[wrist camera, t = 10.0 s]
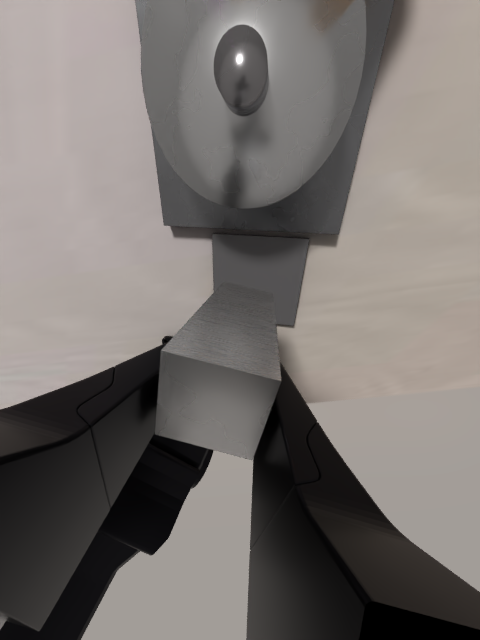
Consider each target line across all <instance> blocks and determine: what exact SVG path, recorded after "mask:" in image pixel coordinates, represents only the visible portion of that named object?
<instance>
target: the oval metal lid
mask: <svg viewBox="0 0 480 640" xmlns="http://www.w3.org/2000/svg"><path fill="white" fill-rule="evenodd" d="M365 48H366V7H365V0H148V1H147V5H146V9H145V16H144V22H143V28H142V41H141V74H142V84H143V92H144V98H145V103H146V108H147V112H148V115H149V119H150V123H151V126H152V129H153V131H154V134H155V136H156V139H157V141H158V143H159V145H160V147H161V149H162V151H163V153H164V155H165V157H166V158H167V160H168V162H169V163H170V165H171V166H172V168H173V169H174V170H175V172H176V173H177V174H178V175H179V177H180V178H181V179H182V180H183V181H184V182H185V183H186V184H187V185H188V186H189V187H190V188H192V189H193V190H194V191H196V192H197V193H198V194H199V195H201V196H203V197H205V198H206V199H208V200H210V201H212V202H215V203H217V204H220V205H223V206H227V207H231V208H242V209H246V208H260V207H265V206H269V205H272V204H274V203H277V202H279V201H281V200H283V199H285V198H287V197H288V196H290V195H291V194H293V193H294V192H296V191H297V190H298V189H299V188H300V187H301V186H302V185H304V184H305V183H306V182H307V181H308V180H309V179H310V178H311V177H312V176H313V175H314V174H315V173H316V172H317V171H318V169H319V168H320V167H321V166H322V165H323V163H324V162H325V161H326V159H327V158H328V157H329V155H330V154H331V152H332V151H333V149H334V147H335V146H336V144H337V142H338V140H339V139H340V137H341V135H342V133H343V131H344V129H345V126H346V124H347V122H348V120H349V118H350V115H351V112H352V109H353V106H354V103H355V101H356V98H357V94H358V90H359V86H360V82H361V78H362V71H363V65H364V58H365Z"/></svg>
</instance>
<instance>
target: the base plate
mask: <svg viewBox="0 0 480 640" xmlns="http://www.w3.org/2000/svg"><path fill="white" fill-rule="evenodd" d="M147 1H148V0H135V3H136V11H137V19H138V26H139V34H140V42H141V41H142V28H143V22H144V16H145V9H146V5H147ZM393 4H394V0H365V7H366V48H365V58H364V65H363V71H362V78H361V82H360V86H359V90H358V94H357V98H356V101H355V103H354V106H353V109H352V112H351V115H350V118H349V120H348V122H347V124H346V126H345V129H344V131H343V133H342V135H341V137H340V139H339V140H338V142H337V144H336V146H335V147H334V149H333V151H332V152H331V154H330V155H329V157H328V158H327V159H326V161H325V162H324V163H323V165H322V166H321V167H320V168H319V169H318V171H317V172H316V173H315V174H314V175H313V176H312V177H311V178H310V179H309V180H308V181H307V182H306V183H305V184H304V185H302V186H301V187H300V188H299V189H298V190H297V191H296V192H294V193H293V194H291V195H290V196H288V197H287V198H285V199H283V200H281V201H279V202H277V203H274V204H272V205H269V206H265V207H260V208H246V209H242V208H231V207H227V206H223V205H220V204H217V203H215V202H212V201H210V200H208V199H206V198H205V197H203V196H201V195H199V194H198V193H197V192H196V191H194V190H193V189H192V188H190V187H189V186H188V185H187V184H186V183H185V182H184V181H183V180H182V179H181V178H180V177H179V175H178V174H177V173H176V172H175V170H174V169H173V168H172V166H171V165H170V163H169V162H168V160H167V158H166V157H165V155H164V153H163V151H162V149H161V147H160V145H159V143H158V141H157V139H156V136H155V134H154V131H153V129H152V136H153V143H154V151H155V159H156V167H157V175H158V183H159V190H160V198H161V206H162V214H163V222H164V226H184V227H204V228H223V229H243V230H263V231H282V232H302V233H322V234H339V230H340V226H341V222H342V218H343V214H344V210H345V205H346V201H347V197H348V193H349V189H350V184H351V180H352V176H353V172H354V168H355V163H356V159H357V155H358V151H359V147H360V142H361V138H362V134H363V130H364V126H365V122H366V117H367V113H368V109H369V105H370V101H371V96H372V92H373V88H374V84H375V80H376V75H377V71H378V67H379V63H380V59H381V54H382V50H383V46H384V42H385V38H386V34H387V29H388V25H389V21H390V17H391V13H392V8H393ZM151 128H152V126H151Z"/></svg>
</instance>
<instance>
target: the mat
mask: <svg viewBox="0 0 480 640" xmlns="http://www.w3.org/2000/svg"><path fill="white" fill-rule="evenodd" d="M308 243H309V238H294V237H276V236H257V235H239V234H220V233H213V234H212V247H213V282H214V292H215V291H216V290H217V289H218V287H219V286H220V285H221V284H222V283H223V282H228V283H232V284H236V285H240V286H244V287H249V288H253V289H257V290H261V291H265V292H269V293H273V296H274V307H275V318H276V324H282V325H292V326H294V322H295V316H296V311H297V305H298V299H299V294H300V288H301V282H302V277H303V271H304V266H305V260H306V254H307V249H308Z"/></svg>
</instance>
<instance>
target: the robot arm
mask: <svg viewBox="0 0 480 640" xmlns="http://www.w3.org/2000/svg"><path fill="white" fill-rule="evenodd" d="M172 338H173V337H171V336H165V337H164V338H163V339H162V343H163V345H160V346H158V347H156V348H154V349H152V350H149V351H147V352H145V353H143V354H140V355H138V356H136V357H134V358H132V359H129V360H127V361H125V362H123V363H121V364H118V365H116V366H115V367H111V368H109V369H107V370H105V371H103V372H100V373H98V374H96V375H93V376H91V377H89V378H86V379H84V380H81V381H78V382H76V383H73V384H71V385H68V386H65V387H63V388H60V389H57V390H55V391H52V392H49V393H46V394H44V395H41V396H38V397H36V398H33V399H30V400H27V401H25V402H22V403H19V404H17V405H14V406H11V407H8V408H4V409H1V410H0V640H81V638H82V636H83V634H84V632H85V630H86V628H87V627H88V625H89V623H90V621H91V619H92V617H93V615H94V613H95V611H96V609H97V608H98V606H99V604H100V602H101V600H102V598H103V596H104V594H105V592H106V591H107V589H108V587H109V584H110V583H111V581H112V579H113V578H114V576H115V574H116V572H117V570H118V569H119V568H121V567H122V566H123V565H124V564H125V563H126V562H128V561H129V560H130V559H131V558H132V557H134V556H135V555H136V554H137V553H138V552H140V551H142V552H144V553H146V554H149V555H153V554H154V553H155V552H156V551H157V550H158V549H159V548H160V547H161V546H162V545H163V543H164V542H165V541H166V540H167V539H168V538H169V536H170V534H171V531H172V529H173V526H174V524H175V522H176V519H177V517H178V514H179V512H180V510H181V508H182V505H183V503H184V501H185V499H186V497H187V495H188V493H189V491H190V489H191V488H194V487H195V486H196V485H197V484H198V482H199V481H200V480H201V478H202V477H203V475H204V473H205V471H206V469H207V467H208V465H209V462H210V460H211V457H212V454H213V450H212V449H208V448H204V447H200V446H197V445H193V444H189V443H186V442H182V441H178V440H174V439H171V438H167V437H163V436H159V435H156V434H155V426H156V412H157V398H158V384H159V370H160V357H161V350H162V349H163V348H164V347H165V346H166V344H167V343H168V342H169V341H170V340H171V339H172ZM166 340H167V341H166ZM280 371H281V384H280V386H279V389H278V392H277V395H276V397H275V400H274V403H273V405H272V408H271V411H270V414H269V416H268V419H267V422H266V424H265V427H264V430H263V433H262V435H261V438H260V441H259V443H258V446H257V449H256V451H255V454H254V459H253V485H252V512H251V540H250V550H251V551H250V562H249V588H248V589H249V590H248V613H247V639H246V640H480V592H479V591H477V590H476V589H475V588H473V587H472V586H470V585H469V584H468V583H467V582H465V581H464V580H462V579H461V578H460V577H458V576H457V575H456V574H454V573H453V572H452V571H450V570H449V569H447V568H446V567H445V566H443V565H442V564H441V563H439V562H438V561H437V560H435V559H434V558H433V557H431V556H430V555H428V554H427V553H426V552H424V551H423V550H422V549H420V548H419V547H418V546H416V545H415V544H414V543H412V542H411V541H410V540H409V539H407V538H406V537H405V536H404V535H403V534H402V533H401V532H400V531H399V530H398V529H397V528H396V527H394V525H393V524H392V523H391V522H390V521H389V520H388V519H387V518H386V516H385V515H384V514H383V513H382V511H381V510H380V509H379V507H378V506H377V505H376V504H375V502H374V501H373V499H372V498H371V497H370V495H369V494H368V493H367V491H366V490H365V489H364V487H363V486H362V485H361V484H360V482H359V481H358V479H357V478H356V477H355V475H354V474H353V473H352V471H351V470H350V468H349V467H348V466H347V465H346V463H345V462H344V460H343V459H342V458H341V456H340V455H339V453H338V452H337V451H336V449H335V448H334V447H333V445H332V443H331V442H330V440H329V439H328V437H327V436H326V434H325V433H324V431H323V429H322V428H321V426H320V425H319V423H316V422H317V420H316V418H315V417H314V415H313V414H312V412H311V410H310V409H309V407H308V405H307V404H306V402H305V401H304V399H303V397H302V396H301V394H300V393H299V391H298V389H297V388H296V386H295V385H294V383H293V381H292V380H291V378H290V377H289V375H288V373H287V372H286V370H285V369H284V367H283V365H282V364H281V362H280Z"/></svg>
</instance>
